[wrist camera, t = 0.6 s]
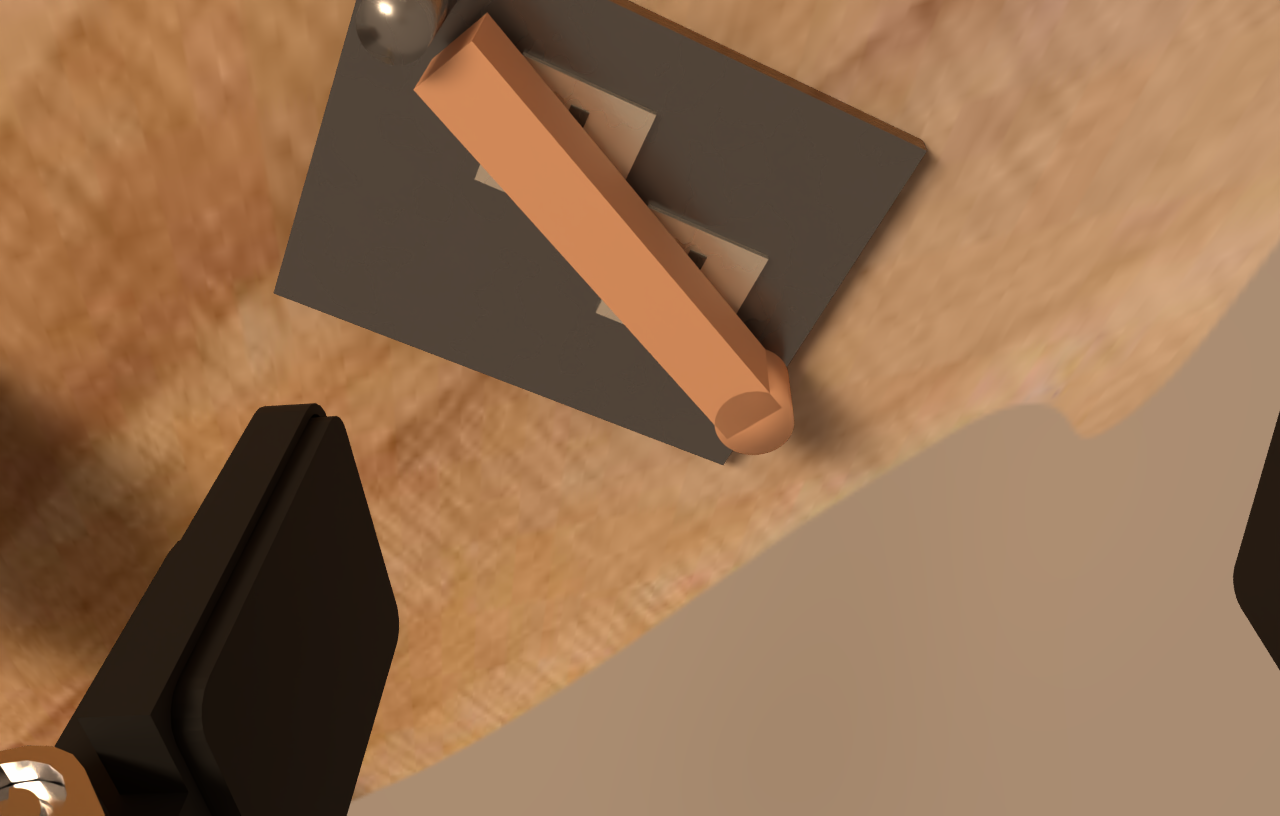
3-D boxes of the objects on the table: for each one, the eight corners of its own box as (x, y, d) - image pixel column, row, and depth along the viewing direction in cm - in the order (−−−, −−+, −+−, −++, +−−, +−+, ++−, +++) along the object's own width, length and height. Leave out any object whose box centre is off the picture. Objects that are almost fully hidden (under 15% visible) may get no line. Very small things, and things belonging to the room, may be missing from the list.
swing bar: (426, 63, 36) (407, 94, 34) (492, 7, 35) (477, 35, 32) (741, 420, 44) (743, 467, 42) (802, 385, 43) (809, 430, 41)
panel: (393, -112, 35) (344, -70, 30) (922, 139, 39) (954, 212, 34) (281, 281, 43) (229, 362, 39) (722, 451, 48) (726, 544, 43)
